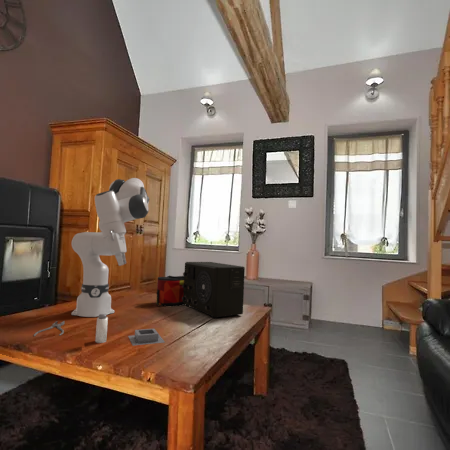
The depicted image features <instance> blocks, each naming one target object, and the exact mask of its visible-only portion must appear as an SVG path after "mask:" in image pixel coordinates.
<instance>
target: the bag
mask: <svg viewBox="0 0 450 450" xmlns="http://www.w3.org/2000/svg"><path fill="white" fill-rule="evenodd" d="M156 284H157V285H156V300H155V301H156V303H155V304H157V305H156V306H158V305H160V306H159V307H166V306H171V307H179V305H181V306H186V305H185V304H183V300H182V297H183V291H184V288H183V287H182V285H183V284H184V276H183V275H179V276H178V275H176V276H173V275H168V276H159V277H158V276H157V283H156Z"/></svg>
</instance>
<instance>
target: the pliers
mask: <svg viewBox="0 0 450 450" xmlns="http://www.w3.org/2000/svg"><path fill="white" fill-rule="evenodd" d="M64 325H65V320H63V321H62V322H60V323H58V321H55V322H54V323H52V325H50V327H47V328H43V329H40V330H38V331H36V332H35V333H34V334H33V337H36V336H37V335H38V334H39V333H42V332H45V331H48V330H52V329H54V328H57V330H59V331H60V332H61V333H59V334H58V336H62V335H63V334H64V333H65V331H64V329H63V328H62V327H63V326H64Z"/></svg>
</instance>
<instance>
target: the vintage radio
mask: <svg viewBox="0 0 450 450" xmlns="http://www.w3.org/2000/svg"><path fill="white" fill-rule="evenodd" d="M245 270H246V268H245V266H243V265H242V266H241V265H234V264H228V263H227V264H226V263H220V262H215V261H214V262H213V261H185V262H184V272H182V276H184V284H183V285H182V287H183V288H184V291H183V297H182V300H183V304H185V305H184V306H186V307H189V306H190V307H189V308H192V309H195V310H197V311H199V312H201V313H205V314H207V315H209V316H211V317H212V318H213V319H218V318H222V317H230V316H231V317H232V316H233V315H237V316H238V315H243V314H244V295H245V293H244V292H245Z"/></svg>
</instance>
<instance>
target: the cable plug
mask: <svg viewBox="0 0 450 450" xmlns="http://www.w3.org/2000/svg"><path fill="white" fill-rule="evenodd" d="M108 320H109V317H108V316H107V315H106V314H99V316H98V317H97V318H96V325H95V326H96V327H95V328H96V329H95V343H97V344H103V343H106V342H107V335H108Z"/></svg>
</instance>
